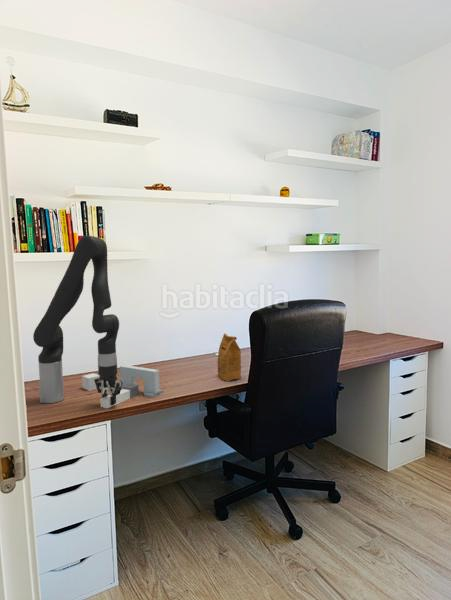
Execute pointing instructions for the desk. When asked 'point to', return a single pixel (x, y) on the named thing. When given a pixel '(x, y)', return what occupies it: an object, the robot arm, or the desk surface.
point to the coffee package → (229, 359)
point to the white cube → (89, 381)
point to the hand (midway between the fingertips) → (109, 403)
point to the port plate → (148, 376)
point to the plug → (121, 395)
